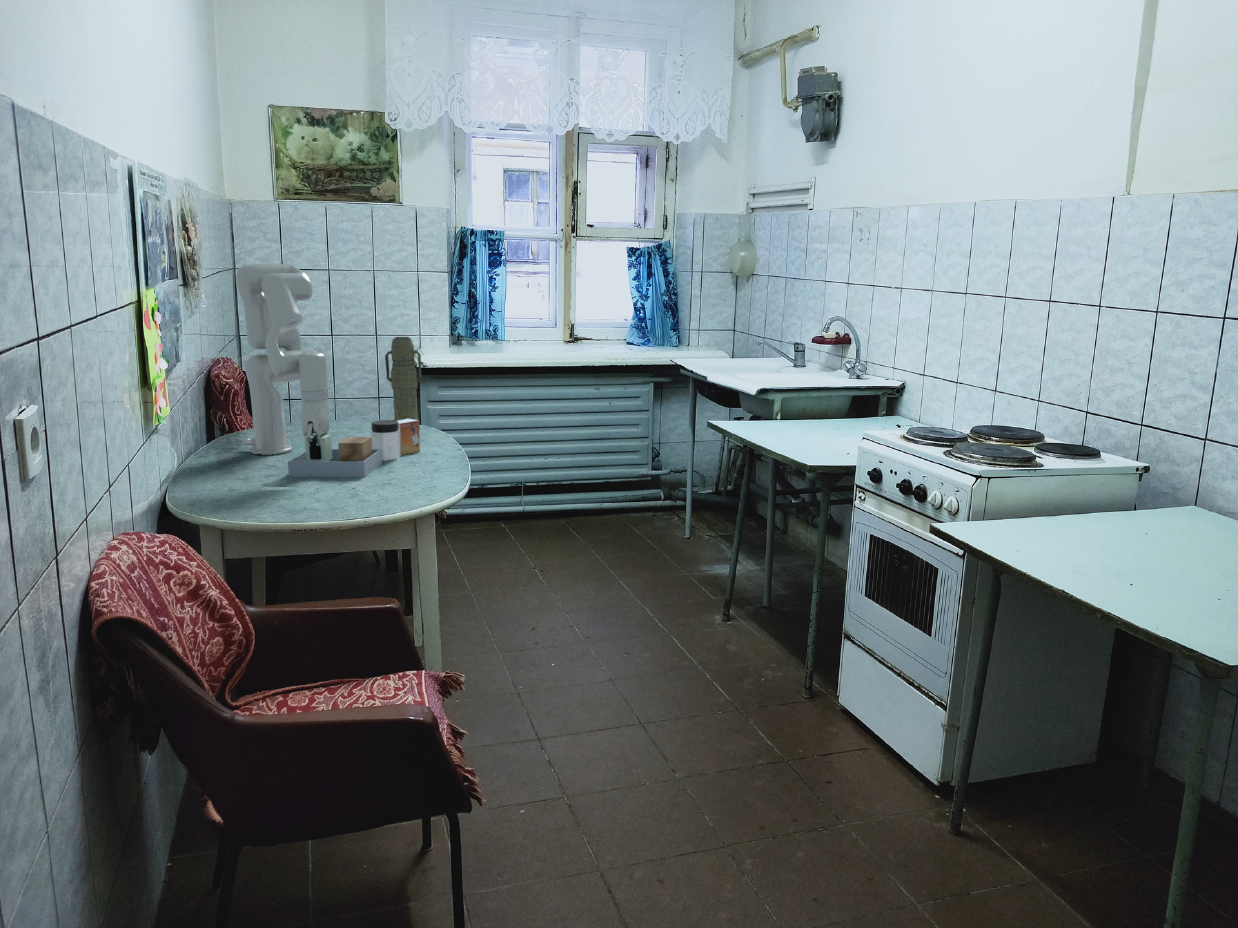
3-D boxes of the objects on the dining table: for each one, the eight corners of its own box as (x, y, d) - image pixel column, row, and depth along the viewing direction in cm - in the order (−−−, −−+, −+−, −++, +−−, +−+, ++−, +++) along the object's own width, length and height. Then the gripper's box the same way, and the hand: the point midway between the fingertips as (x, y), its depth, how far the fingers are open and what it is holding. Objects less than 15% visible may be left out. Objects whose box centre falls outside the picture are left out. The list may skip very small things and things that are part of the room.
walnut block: (340, 473, 263) (338, 442, 261) (350, 466, 272) (348, 436, 270) (364, 473, 263) (362, 443, 261) (373, 466, 271) (371, 437, 269)
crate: (289, 478, 259) (287, 461, 258) (310, 465, 276) (309, 448, 275) (365, 479, 259) (364, 461, 258) (382, 466, 276) (381, 449, 274)
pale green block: (306, 461, 264) (304, 437, 263) (312, 457, 269) (310, 434, 268) (326, 461, 264) (325, 438, 263) (332, 457, 269) (330, 434, 268)
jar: (377, 464, 278) (374, 425, 275) (368, 459, 285) (366, 421, 282) (405, 460, 283) (403, 422, 280) (396, 455, 289) (394, 418, 287)
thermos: (388, 435, 321) (383, 336, 313) (422, 434, 325) (418, 335, 317) (390, 440, 313) (384, 338, 305) (425, 438, 316) (420, 338, 309)
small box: (401, 455, 290) (399, 423, 287) (389, 453, 293) (388, 421, 291) (420, 451, 296) (419, 420, 294) (409, 449, 299) (407, 418, 297)
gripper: (312, 391, 271) (316, 451, 275) (290, 400, 254) (295, 463, 258) (337, 391, 271) (341, 451, 275) (317, 400, 254) (321, 463, 258)
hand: (319, 456), depth 267 cm, fingers closed on pale green block, 5 cm apart
